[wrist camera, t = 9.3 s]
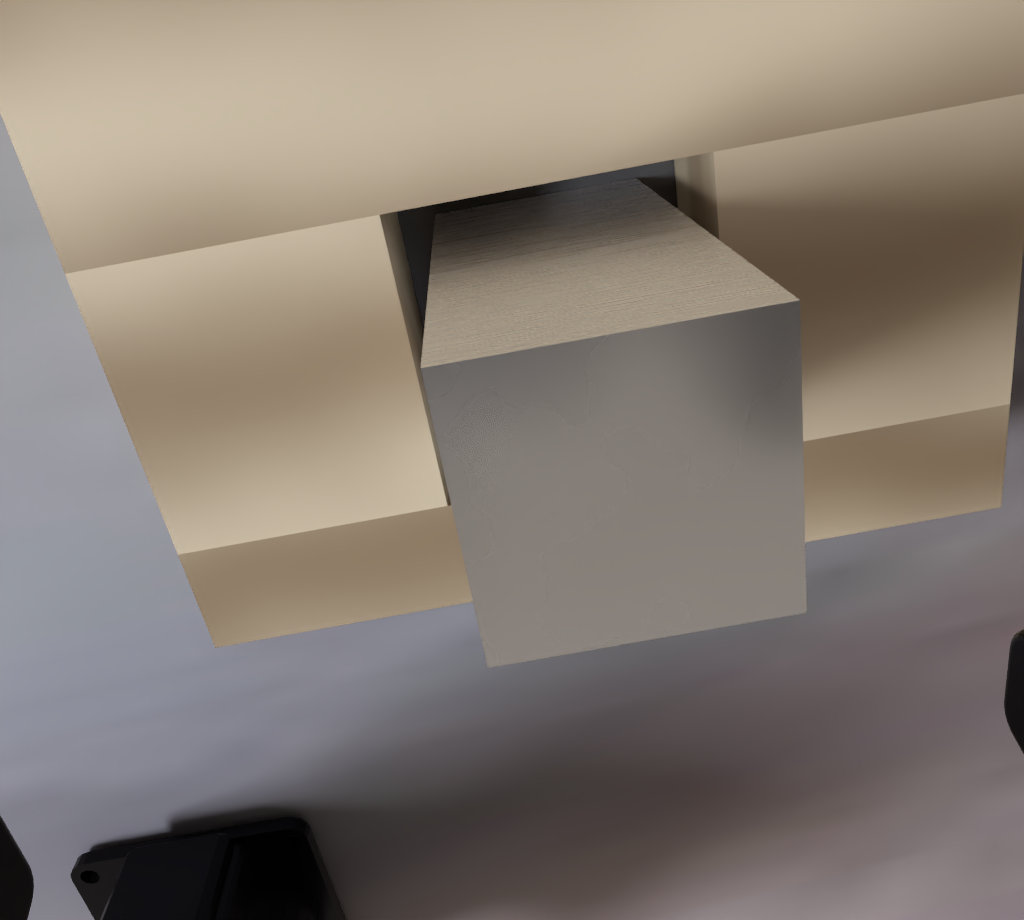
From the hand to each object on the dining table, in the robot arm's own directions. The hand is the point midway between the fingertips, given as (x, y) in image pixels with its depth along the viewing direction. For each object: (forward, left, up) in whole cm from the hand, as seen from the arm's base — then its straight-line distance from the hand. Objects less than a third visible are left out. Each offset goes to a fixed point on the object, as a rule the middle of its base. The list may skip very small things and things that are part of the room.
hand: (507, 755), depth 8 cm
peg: (+1, -2, -12) cm, 12 cm away
